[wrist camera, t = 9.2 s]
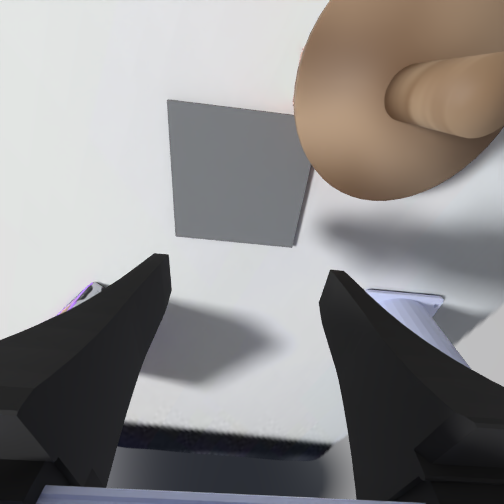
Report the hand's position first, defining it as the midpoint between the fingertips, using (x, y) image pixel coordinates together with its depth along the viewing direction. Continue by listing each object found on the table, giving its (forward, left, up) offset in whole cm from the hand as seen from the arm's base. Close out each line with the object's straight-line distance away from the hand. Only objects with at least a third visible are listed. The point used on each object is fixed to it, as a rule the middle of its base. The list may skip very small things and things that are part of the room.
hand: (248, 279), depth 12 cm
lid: (+8, -7, -7) cm, 12 cm away
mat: (+1, +1, -10) cm, 10 cm away
